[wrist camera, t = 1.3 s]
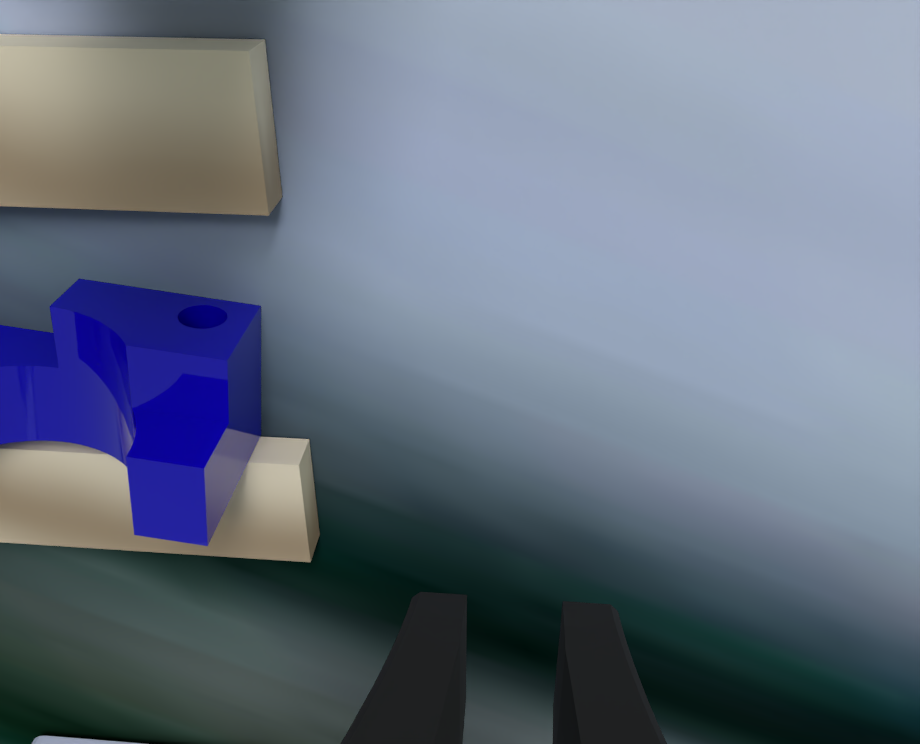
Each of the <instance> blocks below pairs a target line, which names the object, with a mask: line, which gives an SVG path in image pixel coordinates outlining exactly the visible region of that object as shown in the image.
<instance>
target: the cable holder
mask: <svg viewBox="0 0 920 744" xmlns="http://www.w3.org/2000/svg"><path fill="white" fill-rule="evenodd" d="M50 312H51V319H52V325H53V332H54V333H50V332H43V331H36V330H30V329H23V328H16V327H10V326H3V325H0V444H6V443H13V442H23V441H59V442H68V443H75V444H79V445H84V446H88V447H91V448H94V449H97V450H100V451H102V452H104V453H107V454H109V455H110V456H112V457H114V458H116V459H117V460H119V461H120V462H122V463H123V464H124V465H125V466H126V467H127V472H128V482H129V491H130V501H131V510H132V519H133V529H134V535H138V536H144V537H151V538H157V539H164V540H170V541H177V542H183V543H190V544H197V545H203V546H208V545H209V543H210V540H211V538H212V536H213V534H214V532H215V530H216V528H217V526H218V524H219V522H220V520H221V518H222V515H223V513H224V511H225V509H226V507H227V505H228V503H229V501H230V499H231V497H232V495H233V493H234V490H235V488H236V486H237V484H238V482H239V480H240V478H241V476H242V474H243V472H244V470H245V468H246V465H247V463H248V461H249V459H250V457H251V455H252V453H253V451H254V449H255V447H256V445H257V443H258V440H259V438H260V436H261V306H258V305H252V304H245V303H238V302H232V301H225V300H218V299H212V298H205V297H198V296H191V295H185V294H178V293H171V292H165V291H158V290H151V289H145V288H138V287H131V286H125V285H118V284H111V283H104V282H98V281H91V280H84V279H78V280H77V281H76V282H75V283H74V284H73V285H72V286H71V287H70V288H69V289H68V290H67V291H66V292H64V293H63V294H62V295H61V296H60V297H59V298H58V299H57V300H56V301H55V302H54V303H53V304H52V305H51V306H50Z"/></svg>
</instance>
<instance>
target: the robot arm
mask: <svg viewBox="0 0 920 744" xmlns="http://www.w3.org/2000/svg"><path fill="white" fill-rule="evenodd" d="M466 630H467V595H459V594H444V593H429V592H420V593H418V594H417V595H415V596H414V597H412V600H411V603H410V606H409V609H408V611H407V614H406V617H405V619H404V622H403V624H402V627H401V629H400V631H399V634H398V636H397V638H396V641H395V643H394V645H393V647H392V649H391V651H390V654H389V656H388V658H387V660H386V662H385V664H384V666H383V668H382V670H381V672H380V674H379V676H378V678H377V680H376V682H375V684H374V685H373V687H372V689H371V691H370V693H369V694H368V696H367V698H366V700H365V702H364V703H363V705H362V707H361V709H360V711H359V712H358V714H357V716H356V718H355V720H354V721H353V723H352V725H351V727H350V729H349V730H348V732H347V734H346V736H345V737H344V739H343V741H342V742H341V744H462V741H463V728H464V716H465V703H466ZM32 744H147V743H134V742H122V741H110V740H97V739H85V738H73V737H60V736H48V735H44V736H38V737H36V738H35V739H34V741H33V742H32ZM553 744H667V743H666V741H665V738H664V736H663V734H662V732H661V730H660V728H659V725H658V723H657V721H656V719H655V716H654V714H653V711H652V709H651V707H650V704H649V702H648V700H647V697H646V694H645V692H644V689H643V687H642V684H641V682H640V679H639V676H638V674H637V671H636V668H635V666H634V663H633V660H632V657H631V654H630V651H629V648H628V645H627V642H626V639H625V636H624V632H623V629H622V626H621V622H620V618H619V613H618V611H617V610H616V609H615V608H614V607H613V606H612V605H610V604H595V603H580V602H565V601H563V604H562V615H561V626H560V637H559V648H558V659H557V670H556V681H555V692H554V703H553Z"/></svg>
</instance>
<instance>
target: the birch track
mask: <svg viewBox="0 0 920 744" xmlns="http://www.w3.org/2000/svg"><path fill="white" fill-rule="evenodd" d="M281 198H282V189H281V180H280V171H279V162H278V153H277V144H276V135H275V126H274V117H273V108H272V99H271V90H270V81H269V72H268V62H267V53H266V44H265V39H218V38H169V37H119V36H69V35H20V34H0V206H10V207H39V208H67V209H96V210H124V211H153V212H181V213H209V214H238V215H266V216H269V215H270V213H271V212H272V210H273V209H274V208H275V206H276V205H277V204H278V202H279V201H280V200H281ZM319 535H320V532H319V523H318V514H317V505H316V496H315V487H314V478H313V469H312V460H311V451H310V442H309V439H296V438H277V437H260V438H259V440H258V443H257V445H256V447H255V449H254V451H253V453H252V455H251V457H250V459H249V461H248V463H247V465H246V468H245V470H244V472H243V474H242V476H241V478H240V480H239V482H238V484H237V486H236V488H235V490H234V493H233V495H232V497H231V499H230V501H229V503H228V505H227V507H226V509H225V511H224V513H223V515H222V518H221V520H220V522H219V524H218V526H217V528H216V530H215V532H214V534H213V536H212V538H211V540H210V543H209V545H208V546H203V545H197V544H190V543H183V542H177V541H170V540H164V539H157V538H151V537H144V536H138V535H134V529H133V519H132V510H131V501H130V491H129V482H128V472H127V467H126V466H125V465H124V464H123V463H122V462H120V461H119V460H117V459H116V458H114V457H112V456H110V455H109V454H107V453H104V452H102V451H100V450H97V449H94V448H91V447H88V446H84V445H79V444H75V443H68V442H59V441H23V442H13V443H6V444H0V542H4V543H20V544H35V545H51V546H66V547H82V548H97V549H113V550H128V551H144V552H159V553H175V554H190V555H206V556H222V557H237V558H253V559H268V560H284V561H299V562H311V560H312V556H313V553H314V550H315V547H316V544H317V541H318V538H319Z"/></svg>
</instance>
